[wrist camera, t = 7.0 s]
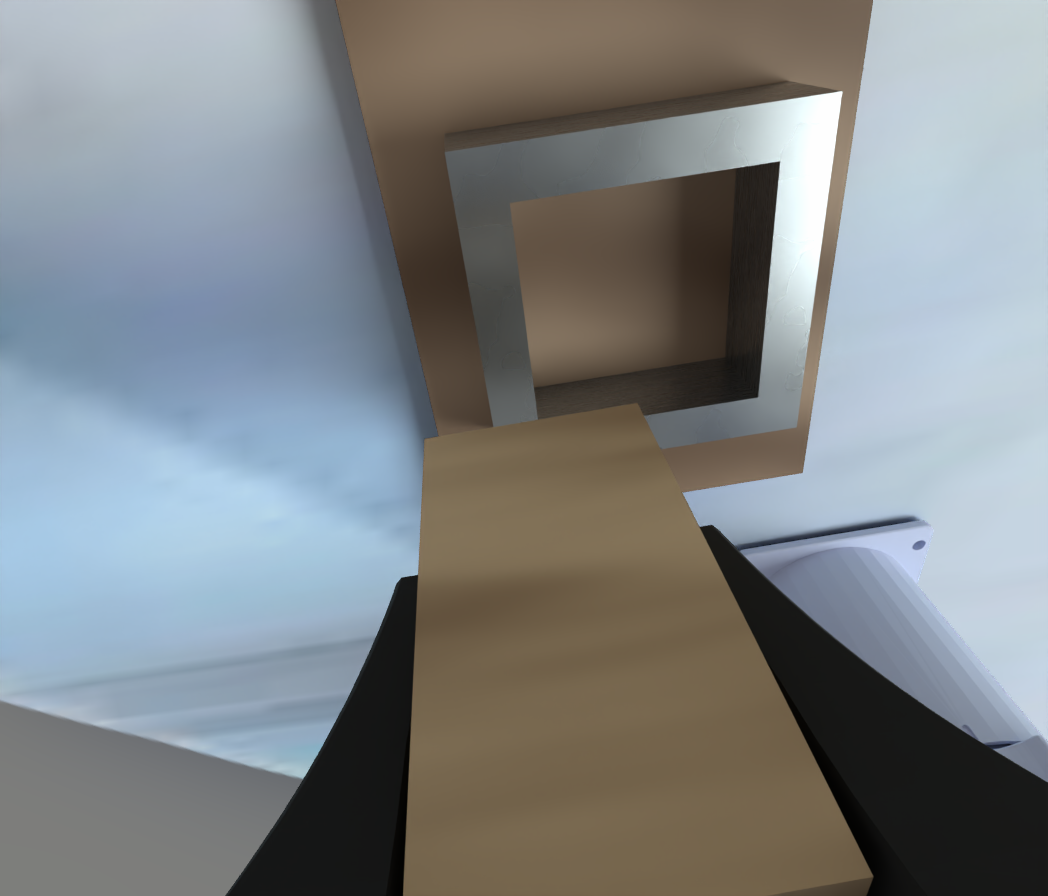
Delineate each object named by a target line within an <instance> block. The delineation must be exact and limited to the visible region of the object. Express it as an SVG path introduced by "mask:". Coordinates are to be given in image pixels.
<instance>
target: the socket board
mask: <svg viewBox="0 0 1048 896" xmlns="http://www.w3.org/2000/svg"><path fill="white" fill-rule="evenodd" d="M335 1H336V5H337V9H338V14H339V18H340V22H341V26H342V31H343V35H344V39H345V43H346V47H347V52H348V56H349V60H350V64H351V69H352V73H353V77H354V81H355V85H356V90H357V94H358V98H359V102H360V106H361V111H362V115H363V119H364V123H365V128H366V132H367V136H368V140H369V144H370V149H371V153H372V157H373V161H374V166H375V170H376V174H377V178H378V182H379V187H380V191H381V195H382V199H383V204H384V208H385V212H386V216H387V220H388V225H389V229H390V233H391V237H392V242H393V246H394V250H395V254H396V258H397V263H398V267H399V271H400V275H401V279H402V284H403V288H404V292H405V296H406V301H407V305H408V309H409V313H410V317H411V322H412V326H413V330H414V334H415V339H416V343H417V347H418V351H419V355H420V360H421V364H422V368H423V372H424V377H425V381H426V385H427V389H428V393H429V398H430V402H431V406H432V410H433V415H434V419H435V423H436V427H437V431H438V436H444V435H450V434H456V433H462V432H468V431H474V430H480V429H486V428H492V427H498V426H504V425H510V424H516V423H521V422H527V421H533V420H539V419H545V418H551V417H557V416H563V415H569V414H575V413H581V412H587V411H593V410H599V409H605V408H611V407H616V406H622V405H628V404H634V403H638V405H639V407H640V409H641V411H642V413H643V415H644V417H645V419H646V421H647V423H648V425H649V427H650V429H651V431H652V433H653V435H654V437H655V439H656V441H657V443H658V445H659V447H660V449H661V451H662V453H663V455H664V457H665V459H666V461H667V463H668V465H669V467H670V469H671V471H672V473H673V475H674V477H675V479H676V481H677V483H678V485H679V487H680V489H681V491H682V492H688V491H694V490H701V489H707V488H713V487H719V486H725V485H731V484H737V483H744V482H750V481H756V480H762V479H768V478H774V477H780V476H787V475H793V474H799V473H803V467H804V460H805V454H806V447H807V440H808V434H809V427H810V420H811V413H812V407H813V400H814V393H815V387H816V380H817V373H818V367H819V360H820V353H821V346H822V340H823V333H824V326H825V320H826V313H827V306H828V299H829V293H830V286H831V279H832V273H833V266H834V259H835V252H836V246H837V239H838V232H839V226H840V219H841V212H842V205H843V199H844V192H845V185H846V179H847V172H848V165H849V159H850V152H851V145H852V138H853V132H854V125H855V118H856V112H857V105H858V98H859V91H860V85H861V78H862V71H863V65H864V58H865V51H866V44H867V38H868V31H869V24H870V18H871V11H872V4H873V0H335Z"/></svg>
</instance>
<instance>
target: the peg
mask: <svg viewBox="0 0 1048 896" xmlns="http://www.w3.org/2000/svg"><path fill="white" fill-rule="evenodd" d="M872 880H873V875H872V873H871V871H870V869H869V867H868V865H867V863H866V861H865V859H864V857H863V855H862V853H861V851H860V849H859V847H858V845H857V843H856V841H855V839H854V837H853V835H852V833H851V831H850V829H849V827H848V824H847V822H846V820H845V818H844V816H843V814H842V812H841V810H840V808H839V806H838V804H837V802H836V800H835V798H834V796H833V794H832V792H831V790H830V788H829V786H828V784H827V782H826V780H825V778H824V776H823V774H822V772H821V770H820V768H819V766H818V764H817V762H816V760H815V758H814V756H813V754H812V752H811V750H810V748H809V746H808V744H807V742H806V740H805V738H804V736H803V734H802V732H801V730H800V728H799V726H798V724H797V722H796V720H795V718H794V716H793V714H792V712H791V710H790V708H789V706H788V704H787V702H786V700H785V698H784V696H783V694H782V692H781V690H780V688H779V686H778V684H777V682H776V680H775V678H774V676H773V674H772V672H771V670H770V668H769V666H768V664H767V662H766V660H765V658H764V656H763V654H762V652H761V650H760V648H759V646H758V644H757V642H756V640H755V638H754V636H753V634H752V632H751V630H750V628H749V626H748V624H747V622H746V620H745V618H744V616H743V614H742V612H741V610H740V608H739V606H738V604H737V602H736V600H735V598H734V596H733V594H732V592H731V590H730V588H729V586H728V584H727V582H726V580H725V578H724V576H723V574H722V572H721V570H720V568H719V566H718V564H717V562H716V560H715V558H714V556H713V553H712V551H711V549H710V547H709V545H708V543H707V541H706V539H705V537H704V535H703V533H702V531H701V529H700V527H699V525H698V523H697V521H696V519H695V517H694V515H693V513H692V511H691V509H690V507H689V505H688V503H687V501H686V499H685V497H684V495H683V493H682V491H681V489H680V487H679V485H678V483H677V481H676V479H675V477H674V475H673V473H672V471H671V469H670V467H669V465H668V463H667V461H666V459H665V457H664V455H663V453H662V451H661V449H660V447H659V445H658V443H657V441H656V439H655V437H654V435H653V433H652V431H651V429H650V427H649V425H648V423H647V421H646V419H645V417H644V415H643V413H642V411H641V409H640V407H639V405H638V403H634V404H628V405H622V406H616V407H611V408H605V409H599V410H593V411H587V412H581V413H575V414H569V415H563V416H557V417H551V418H545V419H539V420H533V421H527V422H521V423H516V424H510V425H504V426H498V427H492V428H486V429H480V430H474V431H468V432H462V433H456V434H450V435H444V436H438V437H432V438H426V439H425V440H424V462H423V483H422V504H421V525H420V547H419V568H418V589H417V611H416V632H415V653H414V674H413V696H412V717H411V738H410V759H409V781H408V802H407V823H406V845H405V866H404V887H403V896H866V895H867V893H868V890H869V887H870V885H871V882H872Z"/></svg>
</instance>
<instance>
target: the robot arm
mask: <svg viewBox="0 0 1048 896" xmlns="http://www.w3.org/2000/svg"><path fill="white" fill-rule="evenodd" d="M700 529H701V531H702V533H703V535H704V537H705V539H706V541H707V543H708V545H709V547H710V549H711V551H712V553H713V556H714V558H715V560H716V562H717V564H718V566H719V568H720V570H721V572H722V574H723V576H724V578H725V580H726V582H727V584H728V586H729V588H730V590H731V592H732V594H733V596H734V598H735V600H736V602H737V604H738V606H739V608H740V610H741V612H742V614H743V616H744V618H745V620H746V622H747V624H748V626H749V628H750V630H751V632H752V634H753V636H754V638H755V640H756V642H757V644H758V646H759V648H760V650H761V652H762V654H763V656H764V658H765V660H766V662H767V664H768V666H769V668H770V670H771V672H772V674H773V676H774V678H775V680H776V682H777V684H778V686H779V688H780V690H781V692H782V694H783V696H784V698H785V700H786V702H787V704H788V706H789V708H790V710H791V712H792V714H793V716H794V718H795V720H796V722H797V724H798V726H799V728H800V730H801V732H802V734H803V736H804V738H805V740H806V742H807V744H808V746H809V748H810V750H811V752H812V754H813V756H814V758H815V760H816V762H817V764H818V766H819V768H820V770H821V772H822V774H823V776H824V778H825V780H826V782H827V784H828V786H829V788H830V790H831V792H832V794H833V796H834V798H835V800H836V802H837V804H838V806H839V808H840V810H841V812H842V814H843V816H844V818H845V820H846V822H847V824H848V827H849V829H850V831H851V833H852V835H853V837H854V839H855V841H856V843H857V845H858V847H859V849H860V851H861V853H862V855H863V857H864V859H865V861H866V863H867V865H868V867H869V869H870V871H871V873H872V875H873V880H872V882H871V885H870V887H869V890H868V893H867V895H866V896H1048V741H1047V740H1046V739H1045V738H1044V736H1043V735H1042V734H1041V733H1040V732H1039V730H1038V729H1037V728H1036V727H1035V726H1034V724H1033V723H1032V722H1031V721H1030V720H1029V718H1028V717H1027V716H1026V715H1025V714H1024V712H1023V711H1022V710H1021V709H1020V708H1019V706H1018V705H1017V704H1016V703H1015V701H1014V700H1013V699H1012V698H1011V697H1010V695H1009V694H1008V693H1007V692H1006V691H1005V689H1004V688H1003V687H1002V686H1001V685H1000V683H999V682H998V681H997V680H996V679H995V677H994V676H993V675H992V674H991V673H990V671H989V670H988V669H987V668H986V667H985V665H984V664H983V663H982V662H981V661H980V659H979V658H978V657H977V656H976V655H975V653H974V652H973V651H972V650H971V649H970V647H969V646H968V645H967V644H966V643H965V641H964V640H963V639H962V638H961V637H960V635H959V634H958V633H957V632H956V631H955V629H954V628H953V627H952V626H951V625H950V623H949V622H948V621H947V620H946V618H945V617H944V616H943V615H942V614H941V612H940V611H939V610H938V609H937V608H936V606H935V605H934V604H933V603H932V602H931V600H930V599H929V598H928V597H927V596H926V594H925V593H924V592H923V591H922V590H921V588H920V587H919V586H918V585H917V584H918V581H919V578H920V575H921V571H922V568H923V565H924V562H925V559H926V555H927V552H928V549H929V546H930V543H931V539H932V536H933V532H934V529H933V528H932V527H931V525H930V524H929V523H928V522H926V521H913V522H907V523H901V524H895V525H889V526H883V527H877V528H871V529H865V530H859V531H853V532H846V533H840V534H834V535H828V536H822V537H816V538H810V539H804V540H798V541H792V542H786V543H780V544H773V545H767V546H761V547H755V548H749V549H743V550H740V551H739V550H738V549H737V548H736V547H735V546H734V545H733V544H732V543H731V542H730V541H729V540H728V539H727V538H726V537H725V536H724V535H723V534H722V533H721V532H720V531H719V530H718V529H717V528H715V527H714V526H713V525H708V526H703V527H700ZM417 589H418V575H415V576H409V577H403V578H401V579H400V580H399V582H398V583H397V584H396V587H395V590H394V593H393V595H392V598H391V601H390V604H389V606H388V609H387V611H386V614H385V617H384V619H383V622H382V624H381V626H380V629H379V631H378V634H377V636H376V638H375V641H374V643H373V645H372V648H371V650H370V652H369V654H368V656H367V659H366V661H365V663H364V665H363V667H362V669H361V671H360V674H359V676H358V678H357V680H356V682H355V684H354V686H353V689H352V691H351V693H350V695H349V697H348V699H347V701H346V703H345V705H344V707H343V708H342V710H341V712H340V714H339V716H338V718H337V720H336V722H335V723H334V725H333V727H332V729H331V731H330V733H329V735H328V737H327V739H326V740H325V742H324V744H323V746H322V748H321V750H320V751H319V753H318V755H317V757H316V758H315V760H314V762H313V764H312V765H311V767H310V769H309V771H308V772H307V774H306V776H305V777H304V779H303V781H302V782H301V784H300V786H299V787H298V789H297V790H296V792H295V794H294V795H293V797H292V799H291V800H290V802H289V803H288V805H287V806H286V808H285V810H284V811H283V813H282V814H281V816H280V817H279V819H278V821H277V822H276V824H275V825H274V827H273V828H272V829H271V831H270V833H269V834H268V835H267V837H266V838H265V840H264V841H263V843H262V844H261V846H260V847H259V849H258V850H257V852H256V853H255V855H254V856H253V857H252V859H251V860H250V862H249V863H248V865H247V866H246V868H245V869H244V871H243V872H242V873H241V875H240V876H239V878H238V879H237V880H236V882H235V883H234V885H233V886H232V887H231V889H230V890H229V891H228V893H227V894H226V896H403V887H404V866H405V845H406V823H407V802H408V781H409V759H410V738H411V717H412V696H413V674H414V653H415V632H416V611H417Z"/></svg>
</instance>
